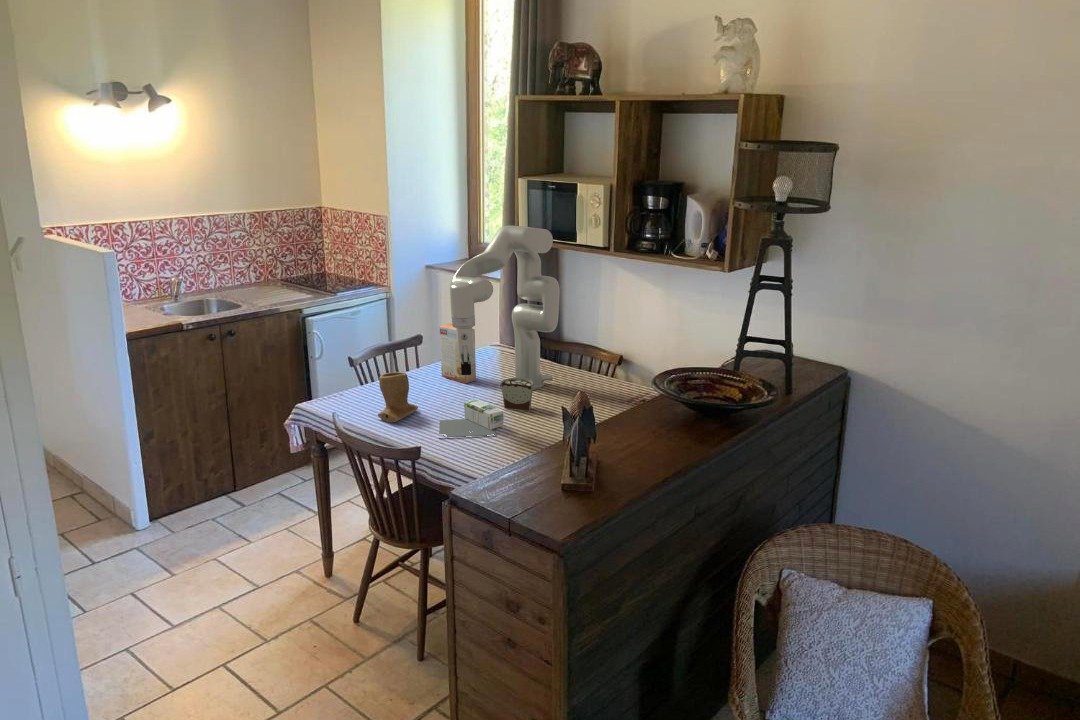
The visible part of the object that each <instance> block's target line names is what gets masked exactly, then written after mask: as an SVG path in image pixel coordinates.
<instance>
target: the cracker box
mask: <svg viewBox="0 0 1080 720" xmlns="http://www.w3.org/2000/svg"><path fill="white" fill-rule="evenodd" d="M472 329H473V345H474V356H473V357H472V356H470V362H471V375H462V374H461V362H462V361H461V357H459V352H458V346H457V337H456V328H454V327H452V323H446V324H443V325H440V326H439V341H440V345H439V346H440V363H441V366H440V367H441V377H443V378H444V379H445V378H446V379H449V380H453V381H456V382H460V383H461V384H469V383H471V382H475V381H477V368H476V367H477V365H476V364H477V362H476V335H475V333H476V332H475V329H474V328H472Z"/></svg>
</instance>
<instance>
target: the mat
mask: <svg viewBox="0 0 1080 720" xmlns="http://www.w3.org/2000/svg"><path fill="white" fill-rule="evenodd" d="M438 429H439V431H438V434H446V435H447V437H466V436H487V435H491V434H494V435H496V428H495V429H492V430H490V429H488V428H485V427H483V426H481V425H479V424H477V423H475V422H472V421H470V420H468V419H466V418H462V419H461V418H460V419H459V418H458V419H456V418H455V419H440V420H439V428H438ZM469 431H470V432H471V433H470V432H469ZM472 431H473V432H472ZM443 436H444V435H443ZM496 436H497V435H496ZM444 437H445V436H444Z"/></svg>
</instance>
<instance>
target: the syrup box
mask: <svg viewBox="0 0 1080 720" xmlns="http://www.w3.org/2000/svg"><path fill="white" fill-rule="evenodd" d="M463 409H464V410H463V411H464V419H468V420H470V421H472V422H475V423H477V424H479V425H481V426H483V427H485V428H488V429H490V430H492V429H495V430H496V429H497V428H501V427H503V426H504V423H505V415H504V409H501V408H499V407H496V406H494V405H491V404H490V403H487V402H484V401H482V400H480V399H478V398H475V399H473V400H468V401H465V402H464V403H463Z"/></svg>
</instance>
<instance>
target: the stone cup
mask: <svg viewBox="0 0 1080 720" xmlns="http://www.w3.org/2000/svg"><path fill="white" fill-rule="evenodd" d="M378 379H379V380H378V382H379V384H378V385H379V389H380V392H381V393H382V397H383V399H384V403H385V408H384V409H383V410H382V411H380V412H379V413H378V414H377V417H378V418H380V419H381V420H383V421H385V422H386V423H387V422H388V423H396V422H398V421H400V420H402V419H404V418H406V417H408V416H409V415H411V414H413V413H415V412H416V411H417V410H418V409H419V406H417V405H414V404H411V403H409V402H408V397H409V391H410V384H409V383H410V382H409V381H410V380H409V377H408V374H407V373H406V372H404V371H394V372H393V371H392V372H387V373H384V374H381V375H380V376H379V378H378Z"/></svg>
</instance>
